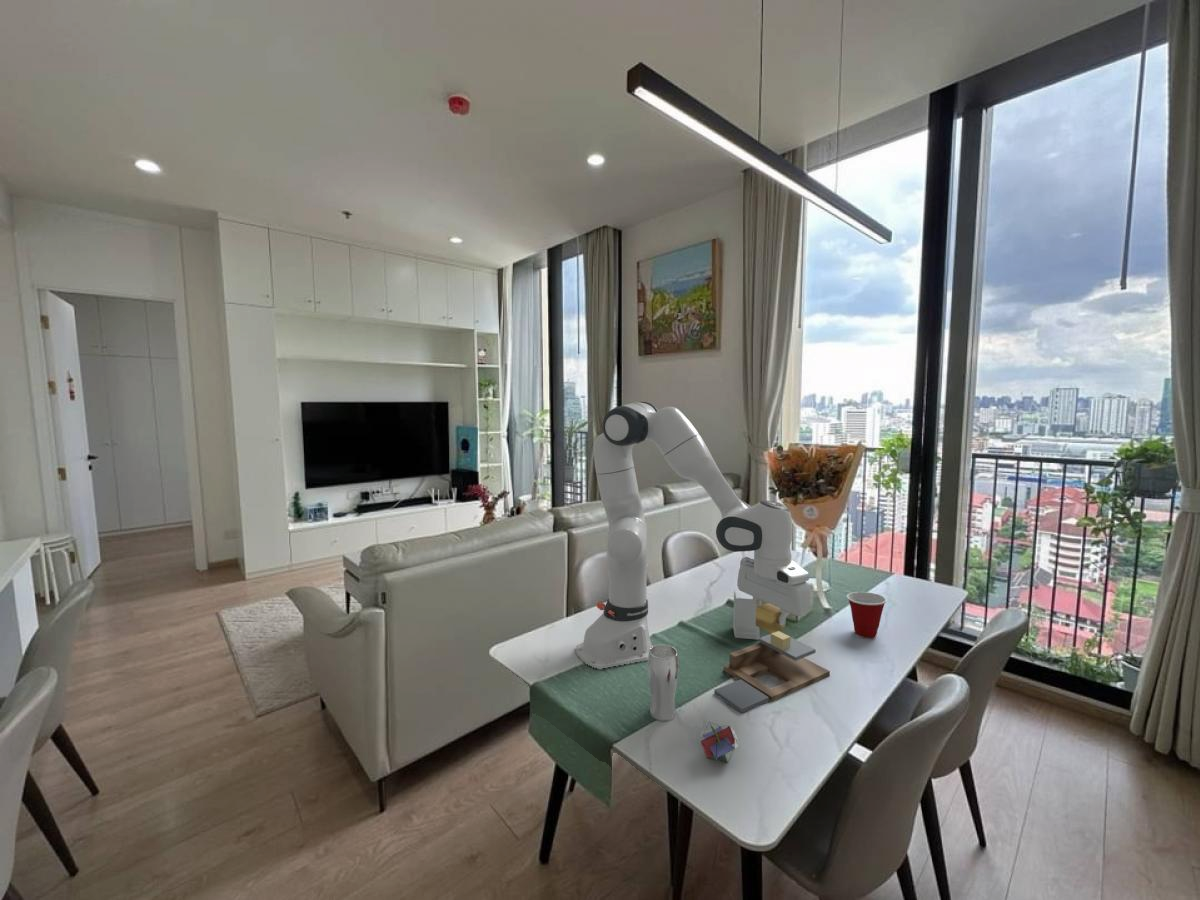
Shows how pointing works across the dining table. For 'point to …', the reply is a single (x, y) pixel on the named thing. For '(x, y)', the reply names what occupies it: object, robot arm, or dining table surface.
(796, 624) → the dining table surface
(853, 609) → the plastic cup
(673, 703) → the beer glass
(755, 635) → the supplement box
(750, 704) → the slate coaster
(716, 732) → the geometric puzzle
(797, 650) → the sliding cover
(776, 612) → the ochre block
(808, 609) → the robot arm
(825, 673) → the puzzle board
